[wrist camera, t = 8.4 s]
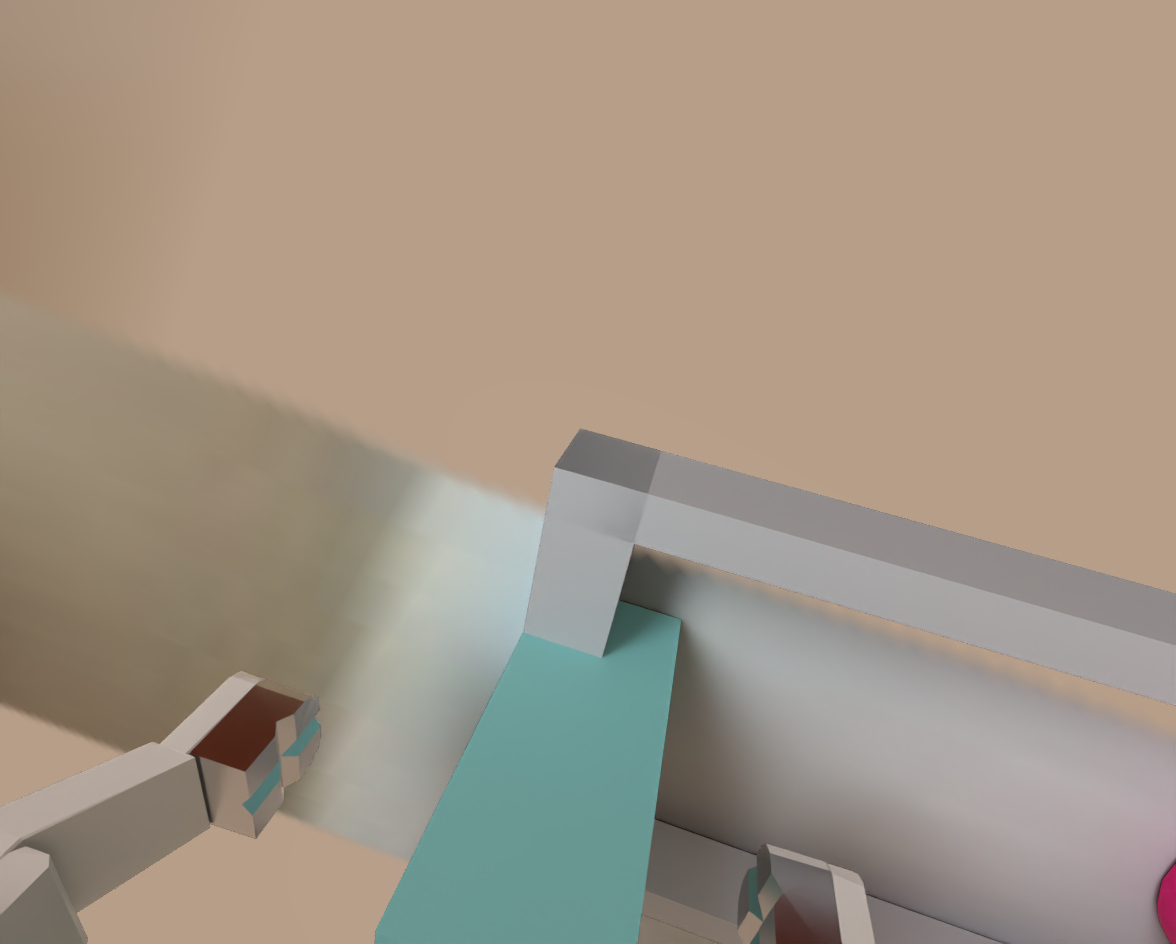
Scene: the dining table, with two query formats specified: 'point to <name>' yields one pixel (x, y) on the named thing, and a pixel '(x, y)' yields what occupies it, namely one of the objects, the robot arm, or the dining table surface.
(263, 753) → the robot arm
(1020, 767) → the dining table surface
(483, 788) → the grey rectangular frame
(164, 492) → the dining table surface
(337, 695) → the dining table surface
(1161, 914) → the pepper mill
